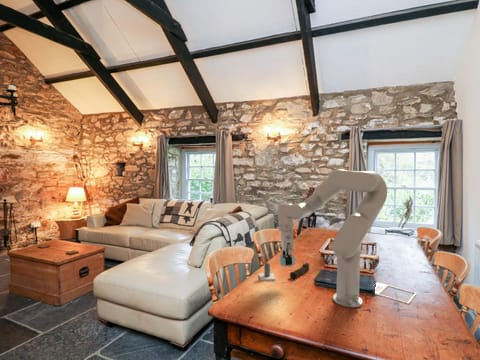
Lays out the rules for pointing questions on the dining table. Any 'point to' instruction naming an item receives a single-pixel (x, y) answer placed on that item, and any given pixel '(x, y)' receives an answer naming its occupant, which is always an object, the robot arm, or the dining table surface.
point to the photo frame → (382, 287)
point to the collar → (282, 260)
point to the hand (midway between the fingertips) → (287, 262)
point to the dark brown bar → (300, 271)
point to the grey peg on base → (267, 274)
